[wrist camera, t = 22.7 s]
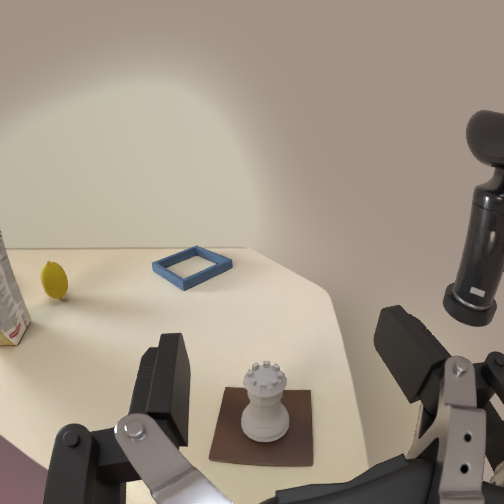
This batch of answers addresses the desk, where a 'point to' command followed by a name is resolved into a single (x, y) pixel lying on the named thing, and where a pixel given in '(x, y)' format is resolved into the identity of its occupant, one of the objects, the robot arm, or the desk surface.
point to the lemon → (54, 280)
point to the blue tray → (194, 279)
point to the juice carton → (10, 303)
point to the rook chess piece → (265, 403)
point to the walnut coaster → (264, 453)
